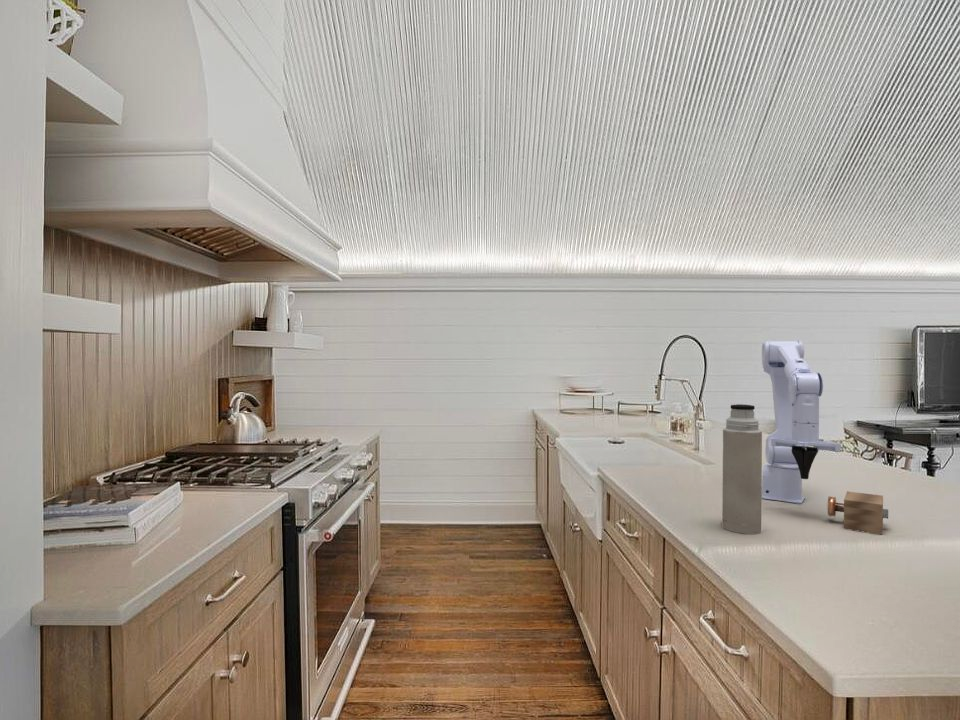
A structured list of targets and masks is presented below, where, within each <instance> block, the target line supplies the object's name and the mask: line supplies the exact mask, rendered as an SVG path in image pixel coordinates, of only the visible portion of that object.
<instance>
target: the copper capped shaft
mask: <svg viewBox="0 0 960 720" xmlns="http://www.w3.org/2000/svg"><path fill="white" fill-rule="evenodd" d="M837 512H840V513H844V502H843V503H841V502H837V497H836V496H830V495H829V496H828V497H827V516H831V517H836V515H837ZM882 518H883V519H889V509H886V508H883V509H882Z"/></svg>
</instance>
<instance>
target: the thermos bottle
mask: <svg viewBox="0 0 960 720" xmlns="http://www.w3.org/2000/svg"><path fill="white" fill-rule="evenodd" d="M755 409H756V408H755V405H751V404H738V403H737V404H731V405H730V416H729V417H728V418H726V420H725V421H726V422H725V427H723V429H722V502H721V503H722V507H721V508H722V511H721V513H722V516H721V517H722V519H721V520H722V521H721V522H722V523H721V524H722V528H723V529H724V530H727V531H729V532H732V533H736V534H737V533H738V534H743V535H745V534H746V535H755V534H759V533H761V532H762V476H763V468H762V466H763V462H762V461H763V458H762V457H763V455H762V454H763V449H762V448H763V431H762V429H761V430H760V429H759V425H760V423H759V420H758V419H757V418H756V417H755V412H754V410H755Z"/></svg>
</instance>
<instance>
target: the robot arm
mask: <svg viewBox="0 0 960 720" xmlns="http://www.w3.org/2000/svg"><path fill="white" fill-rule="evenodd" d="M804 358H805V346H804V343H803V342H802V341H801V340H781V341H780V340H773V341H772V340H765V341H764V342H763V343H762V346H761V361H762V362H761V363H762V368H763V372H764V373H766V374H768V375H769V378H770V380H771V385H772V388H771V389H772V397H773V399H772V400H773V410H774V412H773V413H774V419H775V420H774V421H775V422H774V423H775V431H773V432H771V433H770V434H768V435H767V437H766V439H765V447H764V448H765V454H764V455H765V460H766V462H767V463H768V464H764V465H763V468H762V497H761V499H765V500H772V501H778V502H785V503H792V504H799V505H800V504H803V502H804V501H805V499H806V496H804V495H803V494H802V493H803V480H808V479H809V478H810V477H809V476H810V471H811V468H812V466H813V462H814V461H815V458H816V456H817V454H818V453H819V450H820V451H828V452H830V451H831V452H836V453H840V452H841V451H842V450H841V449H842V447H841V446H842V443H841V442H835V441H834V442H833V441H826V440H819V438H820V397H821V396H822V395H823V391H824V380H823V376H822V374H821V372H814V371H813V370H812V368H811V366H810V365H809V363H808V362H807V361H806V360H804Z"/></svg>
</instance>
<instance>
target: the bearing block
mask: <svg viewBox="0 0 960 720" xmlns="http://www.w3.org/2000/svg"><path fill="white" fill-rule="evenodd" d="M843 504H844V512H843V529H844V528H845V529H844V530H848V529H852V530H851V531H855V530H859V531H858V532H861V531H864V532H863V533H867V532H869V533H868V534H874V535H875V534H876V535H883V529H882V528H884V527H883V526H884V518H882V509H884V495H881V494H880V495H879V494H872V493H871V494H870V493H863V492H855V491H848V490H847V491H846V493H845V496H844V498H843Z"/></svg>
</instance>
